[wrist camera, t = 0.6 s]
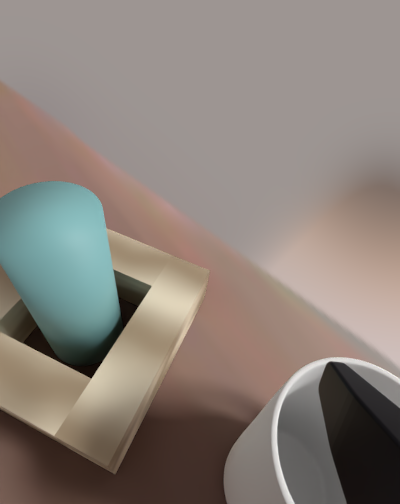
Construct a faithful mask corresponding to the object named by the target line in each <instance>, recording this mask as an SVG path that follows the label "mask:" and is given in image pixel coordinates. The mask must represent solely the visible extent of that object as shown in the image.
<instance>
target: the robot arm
mask: <svg viewBox="0 0 400 504" xmlns="http://www.w3.org/2000/svg"><path fill="white" fill-rule="evenodd" d="M318 391H319V397H320V402H321V407H322V412H323V417H324V422H325V427H326V432H327V437H328V442H329V446H330V450H331V454H332V457H333V461H334V464H335V467H336V471H337V474H338V477H339V480H340V484H341V487H342V490H343V493H344V496H345V500H346V503H347V504H400V408H399V407H398V406H397V405H396V404H394V403H393V402H392V401H391V400H389V399H388V398H387V397H386V396H384V395H383V394H382V393H381V392H379V391H378V390H377V389H376V388H375V387H373V386H372V385H371V384H370V383H368V382H367V381H366V380H365V379H363V378H362V377H361V376H360V375H359V374H357V373H356V372H355V371H354V370H352V369H351V368H350V367H349V366H347V365H346V364H345V363H342V362H334V361H330V362H328V363H327V364H326V366H325V369H324V371H323V374H322V377H321V380H320V382H319V388H318Z"/></svg>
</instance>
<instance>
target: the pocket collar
mask: <svg viewBox="0 0 400 504" xmlns="http://www.w3.org/2000/svg"><path fill="white" fill-rule="evenodd" d="M106 231H107V236H108V242H109V248H110V254H111V259H112V265H113V271H114V277H115V283H116V288H117V294H118V297H119V298H121V299H123V300H125V301H128V302H130V303H132V304H134V305H137V306H139V307H138V308H137V310H136V311H135V313H134V315H133V316H132V318H131V319H130V321H129V322H128V324H127V325H126V327H125V328H124V330H123V331H122V333H121V334H120V336H119V338H118V339H117V341H116V342H115V344H114V345H113V347H112V348H111V350H110V351H109V353H108V354H107V356H106V357H105V359H104V360H103V362H102V364H101V365H100V367H99V368H98V370H97V371H96V373H95V374H94V376H93V377H92V379H91V378H89V377H87V376H85V375H83V374H81V373H79V372H77V371H75V370H73V369H71V368H69V367H68V366H66V365H64V364H62V363H60V362H58V361H56V360H54V359H52V358H50V357H48V356H46V355H44V354H42V353H40V352H38V351H36V350H34V349H32V348H30V347H29V346H27V345H25V344H23V342H24V340H25V339H26V338H27V337H28V336H29V335H30V333H31V332H32V331H33V330H34V329H35V328H36V327H37V323H36V322H35V320H34V318H33V317H32V315H31V313H30V312H29V310H28V309H27V307H26V305H25V304H24V302H23V300H22V299H21V297H20V295H19V294H18V292H17V290H16V289H15V287H14V286H13V284H12V282H11V281H10V279H9V277H8V276H7V274H6V272H5V271H4V269H3V268H2V266H1V264H0V410H2V411H4V412H6V413H7V414H9V415H11V416H13V417H14V418H16V419H18V420H20V421H21V422H23V423H25V424H27V425H29V426H30V427H32V428H34V429H36V430H37V431H39V432H41V433H43V434H44V435H46V436H48V437H50V438H51V439H53V440H55V441H57V442H59V443H60V444H62V445H64V446H66V447H67V448H69V449H71V450H73V451H74V452H76V453H78V454H80V455H81V456H83V457H85V458H87V459H89V460H90V461H92V462H94V463H96V464H97V465H99V466H101V467H103V468H104V469H106V470H108V471H110V472H111V473H113V474H116V472H117V470H118V468H119V466H120V464H121V462H122V460H123V458H124V456H125V454H126V452H127V450H128V448H129V446H130V444H131V442H132V440H133V438H134V436H135V434H136V432H137V430H138V429H139V427H140V425H141V423H142V421H143V419H144V417H145V415H146V413H147V411H148V409H149V407H150V405H151V403H152V401H153V399H154V397H155V395H156V393H157V391H158V389H159V387H160V385H161V383H162V381H163V379H164V377H165V375H166V373H167V371H168V369H169V367H170V365H171V363H172V361H173V359H174V357H175V355H176V353H177V351H178V349H179V347H180V345H181V343H182V341H183V339H184V337H185V335H186V333H187V331H188V329H189V327H190V325H191V323H192V321H193V319H194V317H195V315H196V313H197V311H198V309H199V307H200V305H201V303H202V301H203V299H204V297H205V292H206V287H207V283H208V278H209V273H210V271H209V270H207V269H204V268H202V267H200V266H197V265H195V264H192V263H190V262H187V261H185V260H182V259H180V258H178V257H175V256H173V255H170V254H168V253H165V252H163V251H160V250H158V249H156V248H153V247H151V246H148V245H146V244H143V243H141V242H138V241H136V240H134V239H131V238H129V237H126V236H124V235H121V234H119V233H116V232H114V231H112V230H109V229H107V228H106Z"/></svg>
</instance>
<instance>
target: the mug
mask: <svg viewBox="0 0 400 504" xmlns="http://www.w3.org/2000/svg"><path fill="white" fill-rule="evenodd" d="M330 361H334V362H342V363H345V364H346V365H347V366H349V367H350V368H351V369H352V370H354V371H355V372H356V373H357V374H359V375H360V376H361V377H362V378H363V379H365V380H366V381H367V382H368V383H370V384H371V385H372V386H373V387H375V388H376V389H377V390H378V391H379V392H381V393H382V394H383V395H384V396H386V397H387V398H388V399H389V400H391V401H392V402H393V403H394V404H396V405H397V406H398V407H399V408H400V379H399V378H398V377H396V376H395V375H393V374H391V373H390V372H388V371H386V370H384V369H382V368H380V367H378V366H376V365H373V364H371V363H368V362H365V361H361V360H357V359H352V358H344V357H332V358H325V359H320V360H317V361H314V362H312V363H309V364H307V365H306V366H304V367H302V368H301V369H299V370H298V371H297V372H296V373H294V374H293V375H292V376H291V377H290V378H289V380H288V381H287V382H286V383H285V384H284V385H283V386H282V387H281V388H280V389H279V390H278V391H277V393H276V394H275V395H274V396H273V397H272V398H271V400H270V401H269V402H268V403H267V405H266V406H265V407H264V408H263V409H262V411H261V412H260V413H259V414H258V415H257V417H256V418H255V419H254V420H253V421H252V423H251V424H250V425H249V426H248V427H247V428H246V430H245V431H244V432H243V433H242V434H241V436H240V437H239V438H238V440H237V441H236V442H235V444H234V445H233V447H232V448H231V450H230V452H229V455H228V457H227V460H226V464H225V469H224V492H225V497H226V501H227V504H347V503H346V500H345V496H344V493H343V490H342V487H341V484H340V480H339V477H338V474H337V471H336V467H335V464H334V461H333V457H332V454H331V450H330V446H329V442H328V437H327V432H326V427H325V422H324V417H323V412H322V407H321V402H320V397H319V391H318V388H319V382H320V380H321V377H322V374H323V371H324V369H325V366H326V364H327V363H328V362H330Z"/></svg>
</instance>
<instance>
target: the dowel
mask: <svg viewBox="0 0 400 504" xmlns="http://www.w3.org/2000/svg"><path fill="white" fill-rule="evenodd" d="M0 264H1V266H2V268H3V269H4V271H5V272H6V274H7V276H8V277H9V279H10V281H11V282H12V284H13V286H14V287H15V289H16V290H17V292H18V294H19V295H20V297H21V299H22V300H23V302H24V304H25V305H26V307H27V309H28V310H29V312H30V313H31V315H32V317H33V318H34V320H35V322H36V323H37V325H38V327H39V328H40V330H41V331H42V333H43V335H44V336H45V338H46V340H47V341H48V343H49V345H50V346H51V348H52V349H53V351H54V353H55V354H56V355H57V357H58V358H59V359H61V360H62V361H64V362H65V363H68V364H70V365H75V366H87V365H92V364H95V363H98V362H100V361H102V360H104V359H105V357H106V356H107V354H108V353H109V351H110V350H111V348H112V347H113V345H114V344H115V342H116V341H117V339H118V338H119V336H120V334H121V333H122V331H123V323H122V317H121V311H120V306H119V300H118V294H117V288H116V283H115V277H114V271H113V265H112V259H111V254H110V248H109V242H108V236H107V231H106V225H105V219H104V213H103V208H102V205H101V202H100V201H99V199H98V198H97V197H96V195H95V194H93V193H92V192H91V191H89V190H88V189H86V188H84V187H82V186H79V185H76V184H73V183H68V182H60V181H48V182H39V183H34V184H30V185H26V186H23V187H20V188H18V189H16V190H13V191H11V192H10V193H8V194H6V195H5V196H3V197H2V198H0Z"/></svg>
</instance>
